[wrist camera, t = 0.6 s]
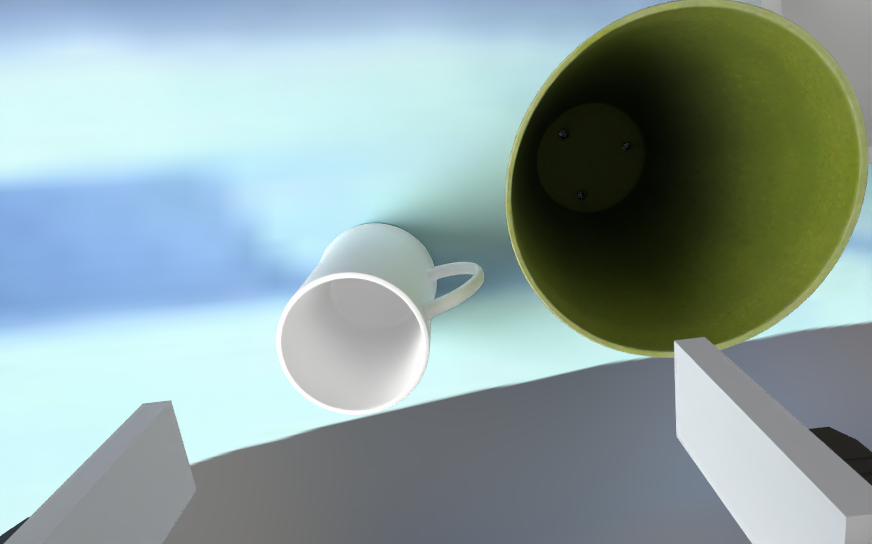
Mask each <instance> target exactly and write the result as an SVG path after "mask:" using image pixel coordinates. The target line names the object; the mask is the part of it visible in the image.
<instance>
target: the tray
mask: <svg viewBox="0 0 872 544" xmlns="http://www.w3.org/2000/svg"><path fill="white" fill-rule="evenodd" d="M733 1H739V2H744V3H748V4H752V5H755V6H758V7H761V8H764V9H767V10H770V11H772V12H774V13H776V14H778V15H780V16H782V17H784V18H786V19H788V20H790V21H792V22H793V23H795V24H797V25H798V26H799V27H801V28H802V29H804V30H805V31H807V32H808V33H809V34H810V35H812V36H813V37H814V38H815V39H816V40H817V41H818V42H819V43H821V44H822V45H823V46H824V47H825V48H826V50H827V51H828V52H829V53H830V54H831V55H832V56H833V57H834V59H835V60H836V61H837V63H838V64H839V66H840V67H841V69H842V70H843V72H844V73H845V75H846V77H847V78H848V80H849V82H850V84H851V86H852V88H853V90H854V92H855V94H856V97H857V100H858V103H859V105H860V108H861V111H862V115H863V119H864V123H865V128H866V132H867V142H868V164H870V163H872V0H733Z"/></svg>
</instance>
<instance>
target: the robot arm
mask: <svg viewBox="0 0 872 544" xmlns="http://www.w3.org/2000/svg"><path fill="white" fill-rule="evenodd" d="M674 358H675V393H676V394H675V395H676V430H677V431H676V433H677V437H678V439H679V440H680V442H681V443H682V445H683V446H684V447H685V449H686V450H687V452H688V453H689V454H690V456H691V457H692V459H693V460H694V462H695V463H696V464H697V466H698V467H699V469H700V470H701V472H702V473H703V474H704V476H705V477H706V479H707V480H708V482H709V483H710V484H711V486H712V487H713V489H714V490H715V492H716V493H717V494H718V496H719V497H720V499H721V500H722V501H723V503H724V504H725V506H726V507H727V509H728V510H729V511H730V513H731V514H732V515H733V517H734V519H735V520H736V521H737V523H738V524H739V526H740V527H741V528H742V530H743V531H744V533H745V534H746V536H747V537H748V538H749V540H750V541H751V543H752V544H872V452H871V451H870V450H869V449H867V448H866V447H865V446H864V445H862V444H861V443H860V442H859V441H857V440H856V439H854V438H852V437H849V436H847V435H845V434H843V433H841V432H838V431H837V430H834V429H832V428H830V427H823V428H814V429H807V428H806V427H805V426H804V425H803V424H802V423H801V422H800V421H798V420H797V419H796V418H795V417H794V416H793V415H792V414H791V413H789V412H788V411H787V410H786V409H785V408H784V407H783V406H782V405H781V404H779V403H778V402H777V401H776V400H775V399H774V398H773V397H772V396H770V395H769V394H768V393H767V392H766V391H765V390H764V389H762V388H761V387H760V386H759V385H758V384H757V383H756V382H755V381H754V380H752V379H751V378H750V377H749V376H748V375H747V374H746V373H745V372H743V371H742V370H741V369H740V368H739V367H738V366H737V365H736V364H734V363H733V362H732V361H731V360H730V359H729V358H728V357H727V356H725V355H724V354H723V353H722V352H721V351H720V350H719V349H718V348H717V347H715V346H714V345H713V344H712V343H711V342H710V341H709V340H708V339H706V338H705V337H700V338H691V339H683V340H675V341H674ZM195 491H196V486H195V483H194V479H193V476H192V472H191V469H190V465H189V462H188V458H187V455H186V451H185V448H184V444H183V441H182V437H181V434H180V430H179V427H178V423H177V420H176V416H175V413H174V409H173V406H172V402H171V401H162V402H154V403H146V404H142V405H141V406H140V407H139V408H138V409H137V410H136V411H135V412H134V413H133V414H132V415H131V416H130V417H129V418H128V419H127V420H126V421H125V422H124V423H123V424H122V425H121V426H120V427H119V428H118V429H117V430H116V431H115V432H114V433H113V434H112V435H111V436H110V437H109V438H108V439H107V440H106V441H105V442H104V443H103V444H102V445H101V446H100V447H99V448H98V449H97V450H96V451H95V452H94V453H93V454H92V455H91V456H90V457H89V458H88V459H87V460H86V461H85V462H84V463H83V464H82V465H81V466H80V467H79V468H78V469H77V470H76V472H75V473H74V474H73V475H72V476H71V477H70V478H69V479H68V480H67V481H66V482H65V483H64V484H63V485H62V486H61V487H60V488H59V489H58V490H57V491H56V492H55V493H54V494H53V495H52V496H51V497H50V498H49V499H48V500H47V501H46V502H45V503H44V504H43V505H42V506H41V507H40V508H39V509H38V510H37V511H36V512H35V513H34V514H33V515H32V516H31V517H28V518H26V519H25V520H23V521H22V522H20V523H19V524H17V525H16V526H14V527H13V528H11V529H10V530H9V531H7V532H6V533H4V534H3V535H1V536H0V544H162V543H163V542H164V540H165V539H166V537H167V535H168V534H169V532H170V531H171V529H172V528H173V526H174V524H175V523H176V521H177V520H178V518H179V516H180V515H181V513H182V512H183V510H184V509H185V507H186V505H187V504H188V502H189V501H190V499H191V498H192V496H193V494H194V493H195Z"/></svg>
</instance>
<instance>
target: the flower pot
mask: <svg viewBox="0 0 872 544" xmlns="http://www.w3.org/2000/svg"><path fill="white" fill-rule="evenodd" d="M561 130H565V131H566V132H567V136H566V138H561V137H560V136H559V133H560V131H561ZM625 142H627V143H629V144H630V148H629V149H627V150H626V149H625V148H624V147H623V144H624V143H625ZM867 175H868V142H867V132H866V128H865V123H864V119H863V115H862V111H861V108H860V105H859V103H858V100H857V97H856V94H855V92H854V90H853V88H852V86H851V84H850V82H849V80H848V78H847V77H846V75H845V73H844V72H843V70H842V69H841V67H840V66H839V64H838V63H837V61H836V60H835V59H834V57H833V56H832V55H831V54H830V53H829V52H828V51H827V50H826V48H825V47H824V46H823V45H822V44H821V43H819V42H818V41H817V40H816V39H815V38H814V37H813V36H812V35H810V34H809V33H808V32H807V31H805V30H804V29H802V28H801V27H799V26H798V25H797V24H795V23H793V22H792V21H790V20H788V19H786V18H784V17H782V16H780V15H778V14H776V13H774V12H772V11H770V10H767V9H764V8H761V7H758V6H755V5H752V4H748V3H744V2H739V1H733V0H678V1H671V2H666V3H662V4H657V5H654V6H651V7H648V8H645V9H642V10H638V11H636V12H634V13H631V14H629V15H627V16H625V17H623V18H621V19H619V20H617V21H615V22H613V23H611V24H609V25H608V26H606V27H605V28H603V29H601V30H600V31H598V32H597V33H595V34H594V35H593V36H591V37H590V38H588V39H587V40H586V41H584V42H583V43H582V44H581V45H580V46H578V47H577V48H576V49H575V50H574V51H573V52H572V53H571V54H570V55H568V56H567V57H566V58H565V59H564V60H563V61H562V62H561V64H560V65H559V66H558V67H557V68H556V69H555V70H554V71H553V73H552V74H551V75H550V76H549V78H548V79H547V80H546V81H545V83H544V84H543V86H542V87H541V89H540V90H539V92H538V93H537V95H536V96H535V98H534V99H533V101H532V103H531V104H530V106H529V108H528V110H527V112H526V114H525V116H524V118H523V120H522V122H521V125H520V127H519V130H518V132H517V135H516V138H515V141H514V144H513V148H512V151H511V155H510V160H509V164H508V170H507V177H506V190H505V206H506V219H507V225H508V231H509V235H510V239H511V243H512V247H513V250H514V253H515V255H516V258H517V261H518V263H519V266H520V268H521V270H522V272H523V274H524V276H525V278H526V279H527V281H528V283H529V284H530V286H531V288H532V289H533V290H534V292H535V293H536V294H537V296H538V297H539V298H540V300H541V301H542V302H543V303H544V304H545V306H546V307H547V308H548V309H549V310H550V311H551V312H552V313H553V314H554V315H555V316H557V317H558V318H559V319H560V320H561V321H563V322H564V323H565V324H566V325H568V326H569V327H570V328H572V329H573V330H575V331H576V332H578V333H579V334H581V335H582V336H584V337H586V338H588V339H590V340H592V341H594V342H596V343H598V344H601V345H603V346H605V347H608V348H611V349H615V350H618V351H622V352H626V353H630V354H636V355H643V356H651V357H674V341H675V340H683V339H691V338H700V337H705V338H706V339H708V340H709V341H710V342H711V343H712V344H713V345H714V346H715V347H717V348H718V349H719V350H722V349H725V348H728V347H731V346H734V345H736V344H739V343H741V342H743V341H746V340H748V339H750V338H752V337H754V336H756V335H758V334H760V333H762V332H763V331H765V330H767V329H769V328H770V327H772V326H774V325H775V324H776V323H778V322H779V321H781V320H782V319H784V318H785V317H786V316H788V315H789V314H790V313H791V312H793V311H794V310H795V309H796V308H798V307H799V306H800V305H801V304H802V303H803V302H804V301H805V300H806V299H807V298H808V297H809V296H810V295H811V294H812V293H813V292H814V291H815V290H816V289H817V288H818V287H819V285H820V284H821V283H822V282H823V281H824V279H825V278H826V277H827V275H828V274H829V273H830V271H831V270H832V269H833V267H834V266H835V264H836V263H837V261H838V260H839V258H840V256H841V254H842V253H843V251H844V249H845V247H846V245H847V243H848V241H849V239H850V237H851V235H852V233H853V230H854V228H855V225H856V223H857V220H858V217H859V214H860V210H861V207H862V204H863V200H864V195H865V190H866V184H867ZM580 191H582V192H583V194H584V198H582V199H580V198H578V192H580Z"/></svg>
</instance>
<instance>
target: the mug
mask: <svg viewBox="0 0 872 544" xmlns="http://www.w3.org/2000/svg"><path fill="white" fill-rule="evenodd" d="M459 274H472V275H473V276H472V277H471V278H470V279H469V280H468V281H467V282H466V283H464V284H463V285H461V286H460V287H458V288H457V289H455V290H453V291H451V292H449V293H447V294H445V295H443V296H441V297H439V298H437V299H435V295H436V290H437V279H440V278H443V277H447V276H452V275H459ZM483 282H484V272H483V270H482V268H481V267H480V266H479V265H478V264H476V263H473V262H455V263H448V264H444V265H439V266H434V263H433V261H432V258H431V256H430V254H429V253H428V251H427V250H426V248H425V247H424V246H423V245H422V243H421V242H420V241H419V240H418V239H416V238H415V237H414V236H413V235H411V234H410V233H408V232H407V231H405V230H403V229H401V228H398V227H395V226H392V225H388V224H381V223H370V224H363V225H359V226H356V227H353V228H351V229H349V230H347V231H345V232H343V233H342V234H340V235H339V236H338V237H336V238H335V239H334V240H333V241H332V242H331V243H330V245H329V246H328V247H327V249H326V250H325V252H324V254H323V256H322V258H321V260H320V263H319V264H318V266H317V267H316V268H315V269H314V271H313V272H312V273H311V274H310V276H309V277H308V278H307V279H306V281H305V282H304V283H303V284H302V286H301V287H300V288H299V289H298V291H297V292H296V293H295V294H294V296H293V297H292V298H291V300H290V301H289V302H288V304H287V305H286V307H285V309H284V311H283V313H282V315H281V318H280V321H279V324H278V329H277V352H278V357H279V360H280V363H281V366H282V368H283V370H284V372H285V374H286V376H287V378H288V379H289V381H290V382H291V383H292V385H293V386H294V387H295V388H296V389H297V390H298V391H299V392H300V393H301V394H302V395H303V396H304V397H306V398H307V399H308V400H310V401H311V402H313V403H315V404H316V405H318V406H320V407H323V408H325V409H327V410H330V411H334V412H337V413H342V414H351V415H361V414H370V413H375V412H379V411H382V410H385V409H387V408H389V407H391V406H393V405H395V404H397V403H398V402H400V401H401V400H403V399H404V398H405V397H406V396H407V395H409V394H410V393H411V392H412V390H413V389H414V388H415V387H416V386H417V384H418V383H419V381H420V379H421V378H422V376H423V374H424V371H425V369H426V366H427V363H428V358H429V351H430V335H431V319H432V318H433V317H435V316H437V315H439V314H441V313H443V312H445V311H447V310H449V309H451V308H453V307H455V306H457V305H458V304H460V303H462V302H463V301H465V300H466V299H468V298H469V297H470V296H472V295H473V294H474V293H475V292H476V291H477V290H478V289H479V288H480V287H481V286H482V284H483Z"/></svg>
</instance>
